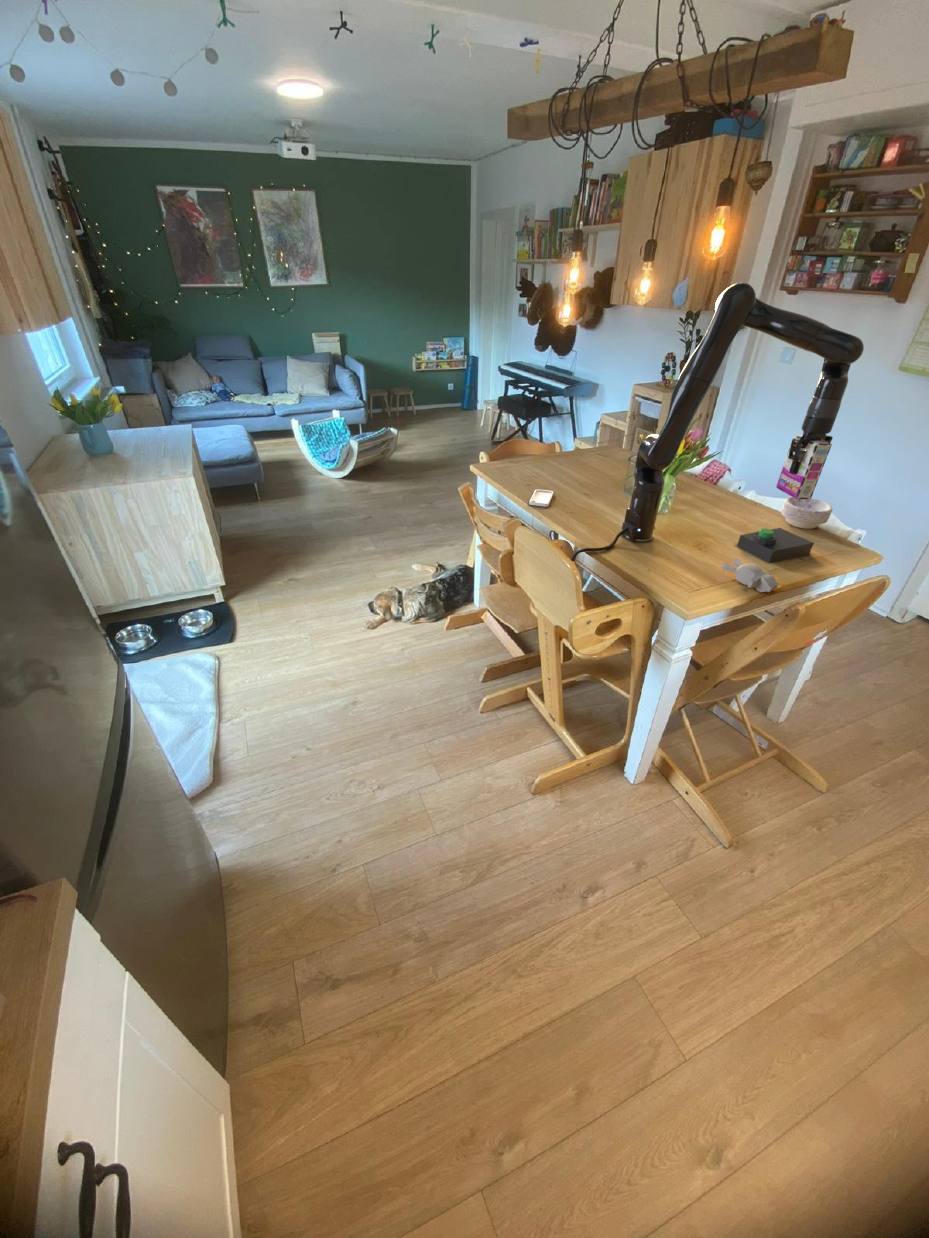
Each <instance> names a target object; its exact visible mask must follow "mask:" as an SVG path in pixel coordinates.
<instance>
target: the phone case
mask: <svg viewBox="0 0 929 1238" xmlns="http://www.w3.org/2000/svg"><path fill="white" fill-rule="evenodd" d="M553 496H554V491H553V490H545V489H538V488H537V489H535V490H534V491H533V493H532V495H531V497H530V499H529V503H528V504H529V505H530V506H537V507H545V508H547V507H549V505H550V503H551V501H552V498H553Z"/></svg>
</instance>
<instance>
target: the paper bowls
mask: <svg viewBox="0 0 929 1238" xmlns="http://www.w3.org/2000/svg"><path fill="white" fill-rule="evenodd" d="M833 509H834V508H833V506H832V505H831V504H830V503H828V502H826V501H824V500H820V499H818V498H814V497H811V499H795V498H794V497H792V496H789V497H787V498H785V499H784V501H783V505H782V508H781V510H780V514H781V515H782V516H783V517H784V519H785V522H786V523H787V524H789V526H790V525H791V526H793V527H796V528H800V529H807V530H809V529H815V528H817V527H818V526H820V525H822V524H827V523H828V521H829V519H830V517H831V514H832V512H833Z"/></svg>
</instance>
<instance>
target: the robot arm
mask: <svg viewBox="0 0 929 1238" xmlns="http://www.w3.org/2000/svg"><path fill="white" fill-rule="evenodd" d="M756 294H757V293H756V291H755V289H754V287H753V286H752V285H750V284H749V283H746V282H737V283H734V284H732V285H730V286H729V287H727V288H726V289H725V290H723V292H721V294H720V295H719V296H718V298H717V300H716V302H715V306H714V307H715V308H714V310H715V313H714V315H713V317H712V319H711V322H710V324H709V326H708V328H707V330H706V333H705V335H704V337H703V338H702V340H701V341H700V343H699V344H698V345H697V347H696V348H695V350H694V351H693V353H692V354H691V356H690V357H689V359H688V360H687V362H686V363H685V365H684V367H683V369H682V371H681V372H680V375H679V377H678V379H677V381H676V382H675V385H674V387H673V390H672V393H671V396H670V401H669V408H668V412H667V416H666V420H665V423H664V424H663V426H662V428H661V430H660V432H659V433H658V434H654V433H653V434H650V435H648V436H646V437H645V438H644V439H643V440H642V441H641V443H640V444H639V447H638V449H637V454H636V459H635V464H634V470H633V471H634V472H633V476H634V477H633V478H634V479H633V480H634V484H633V488H632V493H631V497H630V503H629V507H628V508H626V510H625V516H624V520H623V521H622V526H621V530H620V531H619V532H618V534H616V536H615V538H614V540H613V541H612V542H611V543H610V544H609V545H606V546H603V547H586V548H585V547H584V548H581V549H577V550H576V551H575V552H574V553H573V555H572V557H571V558H570V560H571V559H572V560H573V561H574V560H575V559H576V557H577V556H578V555H579V554H581V553H585V552H601V551H605V550H606V551H607V550H610V549H611V548H613V547H614V546H615V545H616V543H617V542H618V540H619V538H620V537H621V536H623V537H625V538H626V539H628V540H629V541H631V542H639V543H645V542H649V541H652V540H653V536H654V530H656V522H657V517H658V513H659V508H660V504H661V500H662V496H663V493H664V487H665V484H666V483H665V482H666V481H665V478H664V474H663V473H664V470H665V469H667V468H668V467H670V466H671V464H672V463H673V462H674V460H675V458H676V457H677V454H678V452H679V450H680V447H681V445H682V443H683V440H684V438H685V436H686V433H687V431H688V429H689V427H690V425H691V423H692V421H693V420H694V418H695V416H696V414H697V412H698V410H699V408H700V407H701V405H702V403H703V401H704V400H705V398H706V396H707V395H708V393H709V390H710V389H711V387H712V385H713V383H714V381H715V379H716V377H717V375H718V373H719V371H720V369H721V367H722V364H723V362H724V359H725V357H726V355H727V352H728V350H729V348H730V346H731V345H732V343H733V341H734V339H735V338H736V336H737V335H738V333H739V331H740V330H741V328H742V327H744V328H745V327H746V328H749V329H753V330H755V331H759V332H762V333H764V334H766V335H769V336H771V337H773V338H775V339H778V340H780V341H782V342H784V343H786V344H788V345H791V346H793V347H794V348H795V347H796V348H798V349H800V350H803V351H805V352H809V353H811V354H815V355H817V356H819V357H821V358H823V362H822V367H821V372H820V377H819V380H818V382H817V384H816V387H815V389H814V393H813V396H812V398H811V401H810V402H809V405H808V408H807V410H806V414H805V416H804V418H803V422H802V425H801V430H802V432H803V433H802V434H801V435H802V436H801V438H799V439H795V438H794V439H793V438H792V439H791V442H792V443H791V442H790V445H791V447H790V446H789V448H790V451H789V450H788V451H789V456H788V458H789V459H792V464H791V467H790V471H789V472H790V473H791V474H797V472H798V470H799V467H800V464H801V461H802V459H803V457H804V455H805V454H806V452H807V450H805V451H802V450H800V449H801V448H806V446H807V445H808V442H809V441H817V440H820V441H821V440H822V441H825V442H827V443H830V444H832V443H831V442H832V440H833V438H834V437H833V436H831V435H828V434H830V433H831V432H832V429H833V427H834V425H835V422H836V419H837V416H838V413H839V411H840V408H841V406H842V400H843V398H844V395H845V392H846V390H847V387H848V383H849V371H850V368H851V365H852V364H854V363H855V362H857V361H858V360H859V359H860V358H861V356H862V355H863V353H864V349H865V348H864V347H865V345H864V343H863V340H862V339H861V338H860V337H859V336H856V335H853V334H851V333H848V332H845V331H841V330H839V329H836V328H832V327H831V326H829V325H827V324H826V323H824V322H822V321H819V320H818V319H817V320H816V319H815V318H812V317H809V316H806V315H804V314H801V313H797V312H793V311H790V310H786V309H782V308H778V307H777V306H776V307H775V306H773V305H770V304H768V303H766V302H765V301H762V300H760V299H759V298H757V295H756ZM794 452H795V454H794V455H793V453H794ZM799 454H801V455H800V457H799ZM572 560H571V561H572Z"/></svg>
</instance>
